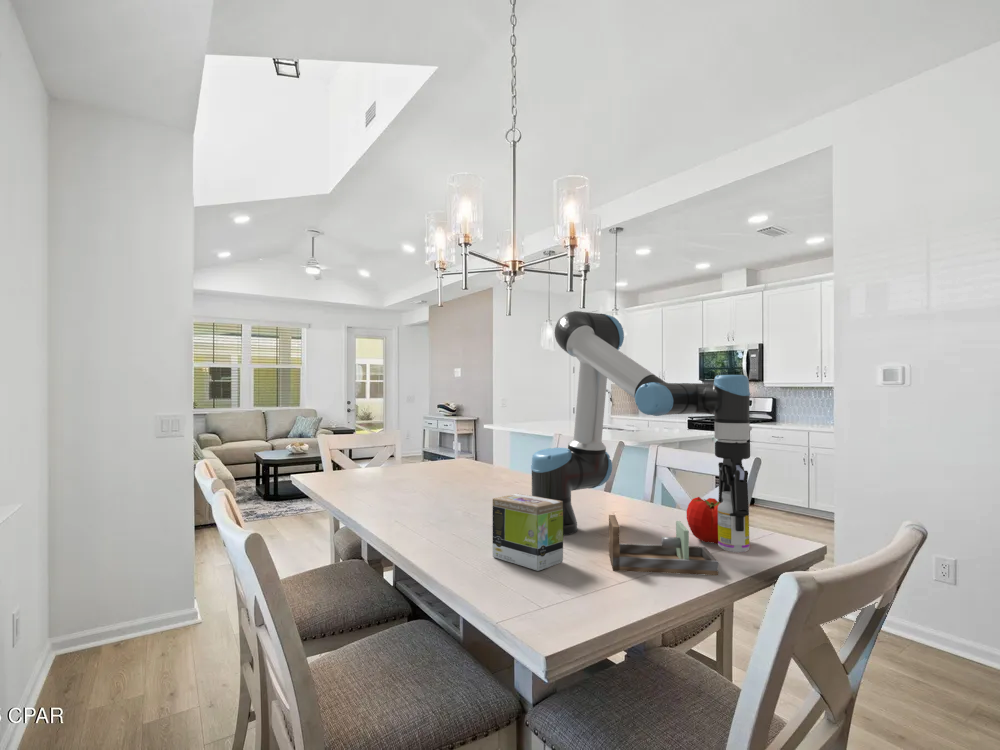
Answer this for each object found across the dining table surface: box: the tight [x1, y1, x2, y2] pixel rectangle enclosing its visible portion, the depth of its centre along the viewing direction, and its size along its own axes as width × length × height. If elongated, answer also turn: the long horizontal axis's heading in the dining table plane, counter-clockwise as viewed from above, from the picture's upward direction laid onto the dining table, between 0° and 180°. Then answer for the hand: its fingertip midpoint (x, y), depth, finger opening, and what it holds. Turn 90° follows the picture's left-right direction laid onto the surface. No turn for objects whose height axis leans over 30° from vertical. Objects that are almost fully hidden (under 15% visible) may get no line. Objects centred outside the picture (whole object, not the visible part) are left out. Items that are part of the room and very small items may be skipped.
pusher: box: [661, 520, 690, 559], centre depth 122 cm, size 5×9×8 cm, turn 173°
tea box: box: [492, 493, 564, 572], centre depth 126 cm, size 15×10×15 cm, turn 45°
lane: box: [608, 514, 719, 576], centre depth 123 cm, size 23×11×10 cm, turn 83°
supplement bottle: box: [717, 491, 750, 553], centre depth 121 cm, size 7×7×13 cm
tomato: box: [686, 496, 720, 545], centre depth 142 cm, size 13×14×12 cm
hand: (733, 539), depth 120 cm, fingers closed on supplement bottle, 7 cm apart
